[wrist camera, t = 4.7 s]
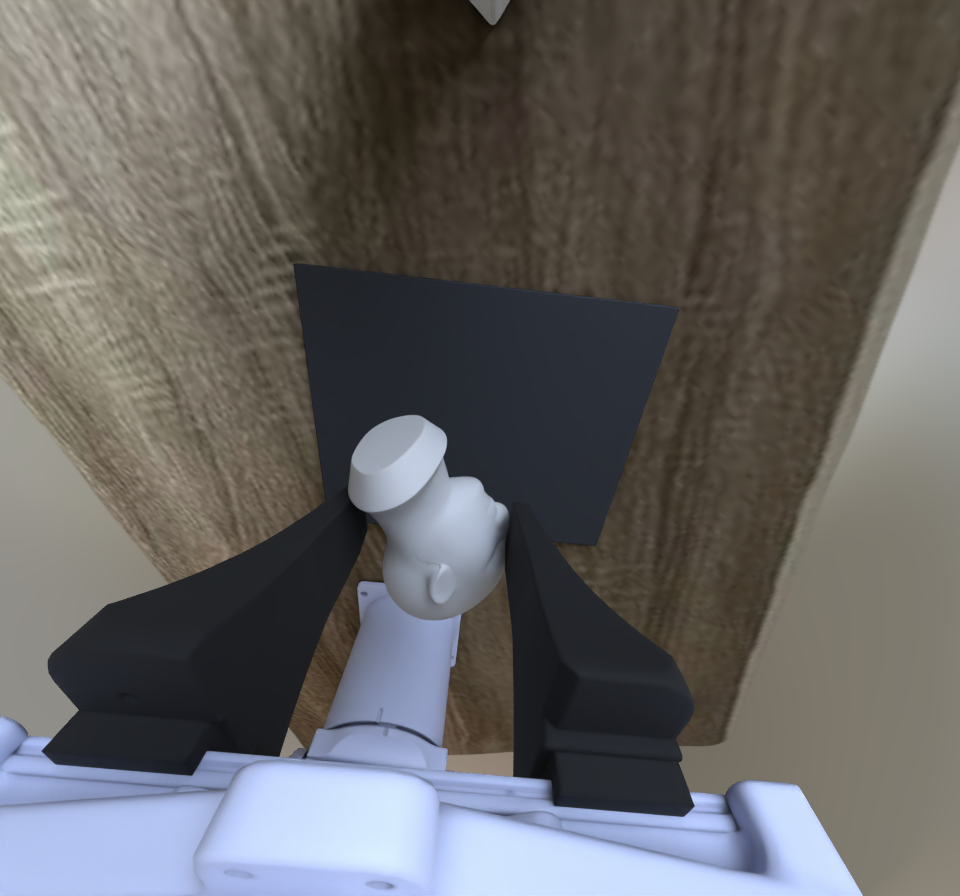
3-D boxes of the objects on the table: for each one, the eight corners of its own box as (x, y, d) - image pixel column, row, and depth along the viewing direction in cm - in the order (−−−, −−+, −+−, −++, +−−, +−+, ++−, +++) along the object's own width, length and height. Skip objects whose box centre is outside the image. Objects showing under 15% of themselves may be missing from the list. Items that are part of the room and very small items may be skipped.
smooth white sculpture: (500, 541, 17) (395, 576, 16) (474, 384, 13) (334, 418, 12) (537, 618, 13) (403, 669, 12) (517, 429, 9) (318, 482, 8)
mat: (594, 540, 24) (596, 546, 23) (331, 513, 23) (327, 519, 23) (674, 306, 17) (680, 307, 16) (299, 263, 16) (292, 263, 16)
